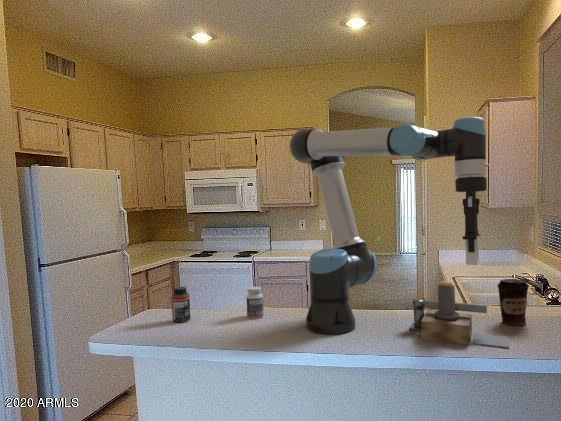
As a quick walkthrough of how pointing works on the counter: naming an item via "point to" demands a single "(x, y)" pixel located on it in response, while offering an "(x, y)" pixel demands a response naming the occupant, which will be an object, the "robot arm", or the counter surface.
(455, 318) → the plug
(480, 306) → the grey long bar
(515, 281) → the coffee cup
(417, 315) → the post
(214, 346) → the counter surface
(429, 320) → the socket
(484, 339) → the mat
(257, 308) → the pill bottle
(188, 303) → the supplement bottle
